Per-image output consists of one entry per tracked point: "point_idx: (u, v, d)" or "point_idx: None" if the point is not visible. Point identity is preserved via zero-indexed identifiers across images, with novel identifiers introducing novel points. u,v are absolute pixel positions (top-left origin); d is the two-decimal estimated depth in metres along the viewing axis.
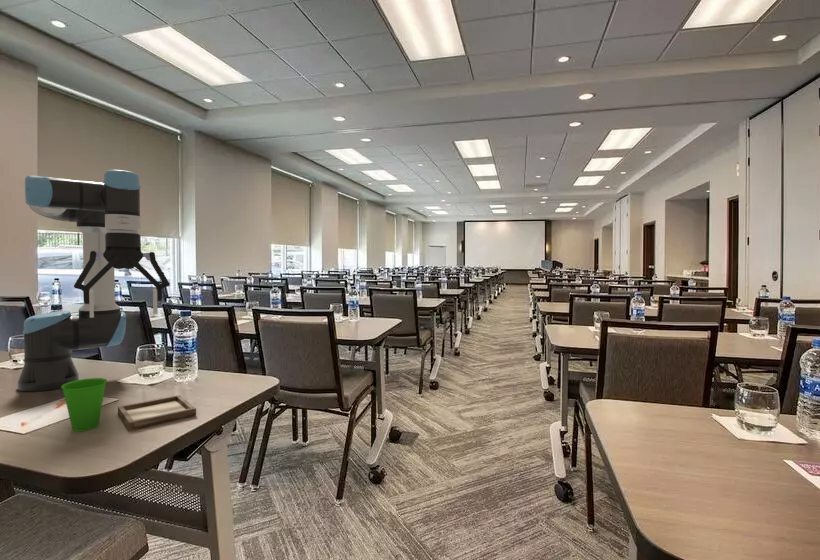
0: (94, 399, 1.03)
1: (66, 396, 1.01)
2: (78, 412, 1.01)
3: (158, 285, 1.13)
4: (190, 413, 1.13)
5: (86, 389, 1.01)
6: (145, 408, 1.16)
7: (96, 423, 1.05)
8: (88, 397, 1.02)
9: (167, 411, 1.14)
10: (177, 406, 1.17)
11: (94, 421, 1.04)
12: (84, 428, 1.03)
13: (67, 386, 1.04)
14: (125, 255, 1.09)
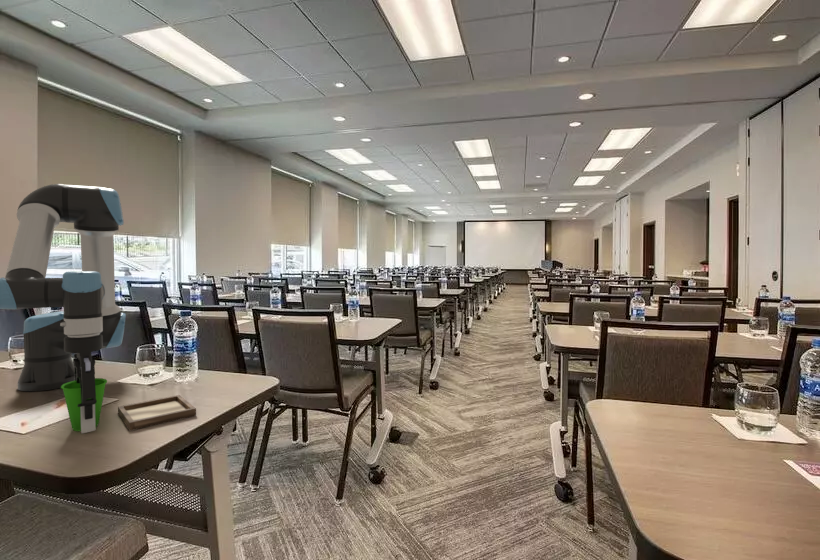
0: None
1: (66, 396, 1.01)
2: (78, 412, 1.01)
3: (81, 401, 1.00)
4: (190, 413, 1.13)
5: None
6: (145, 408, 1.16)
7: (96, 423, 1.05)
8: None
9: (167, 411, 1.14)
10: (177, 406, 1.17)
11: None
12: None
13: (67, 386, 1.04)
14: (78, 356, 1.03)
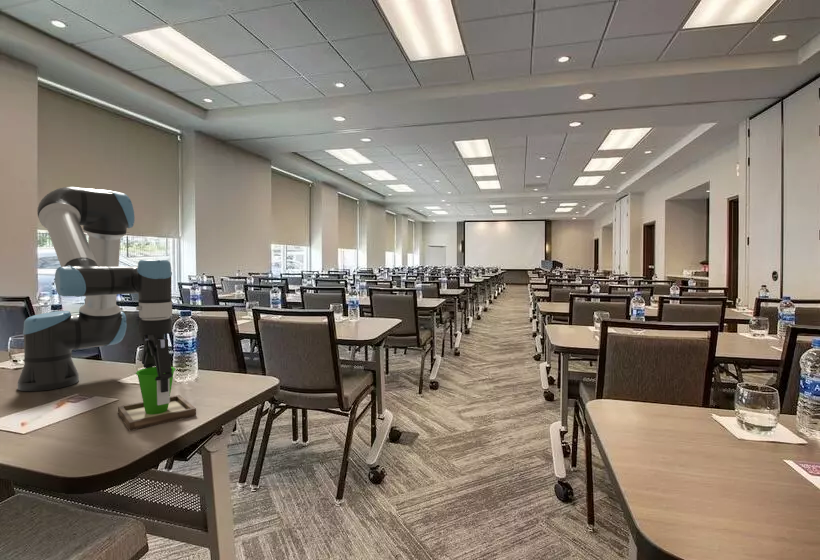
0: None
1: (141, 382, 1.10)
2: (152, 397, 1.10)
3: (158, 376, 1.07)
4: (190, 413, 1.13)
5: None
6: None
7: (166, 407, 1.14)
8: None
9: (167, 411, 1.14)
10: (177, 406, 1.17)
11: (165, 405, 1.13)
12: (156, 411, 1.12)
13: (140, 373, 1.13)
14: (151, 340, 1.12)
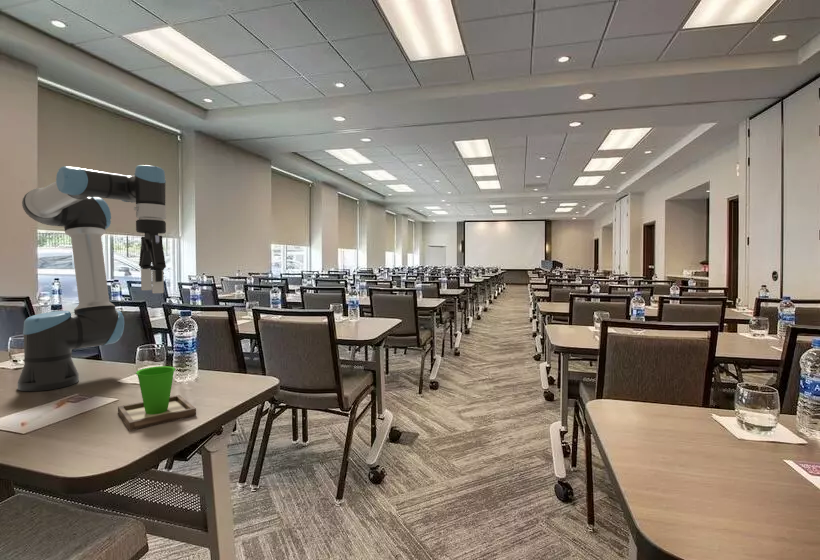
0: (166, 384, 1.12)
1: (141, 382, 1.10)
2: (152, 397, 1.10)
3: (153, 266, 1.20)
4: (190, 413, 1.13)
5: (159, 375, 1.10)
6: None
7: (166, 407, 1.14)
8: (161, 383, 1.11)
9: (167, 411, 1.14)
10: (177, 406, 1.17)
11: (165, 405, 1.13)
12: (156, 411, 1.12)
13: (140, 373, 1.13)
14: (147, 239, 1.25)
